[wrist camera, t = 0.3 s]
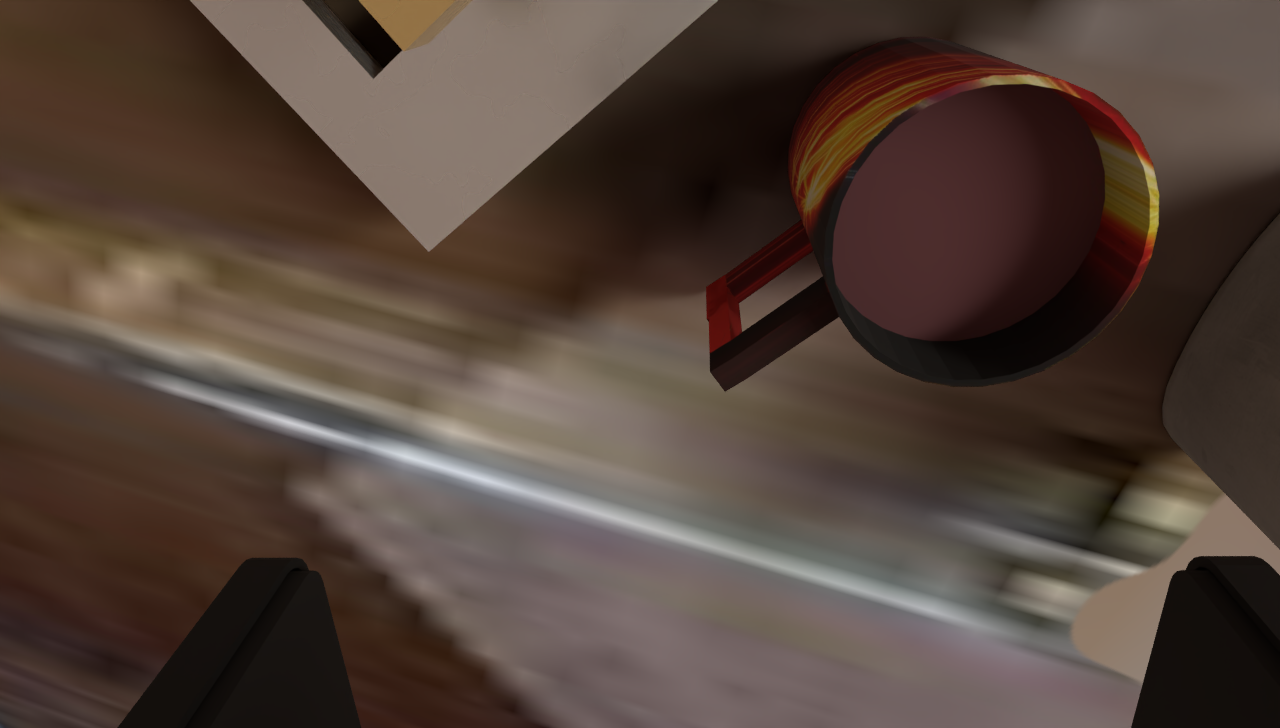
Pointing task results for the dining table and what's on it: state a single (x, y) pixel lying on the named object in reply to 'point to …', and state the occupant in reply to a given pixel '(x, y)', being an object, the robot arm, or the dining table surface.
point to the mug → (950, 219)
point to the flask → (1236, 386)
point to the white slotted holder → (450, 89)
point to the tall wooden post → (414, 18)
